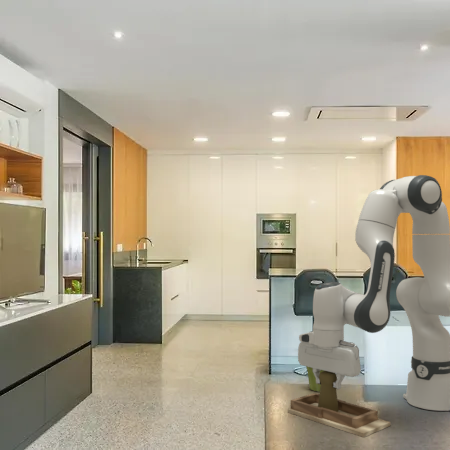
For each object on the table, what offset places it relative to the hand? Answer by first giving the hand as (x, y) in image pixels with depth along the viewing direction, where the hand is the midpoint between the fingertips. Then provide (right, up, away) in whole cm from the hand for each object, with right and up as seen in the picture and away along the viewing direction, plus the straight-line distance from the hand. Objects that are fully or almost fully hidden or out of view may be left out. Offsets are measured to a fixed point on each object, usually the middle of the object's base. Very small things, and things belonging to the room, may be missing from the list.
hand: (328, 386), depth 158 cm
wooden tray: (+2, -9, -3) cm, 9 cm away
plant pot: (+2, -9, +27) cm, 28 cm away
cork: (0, -7, 0) cm, 7 cm away
